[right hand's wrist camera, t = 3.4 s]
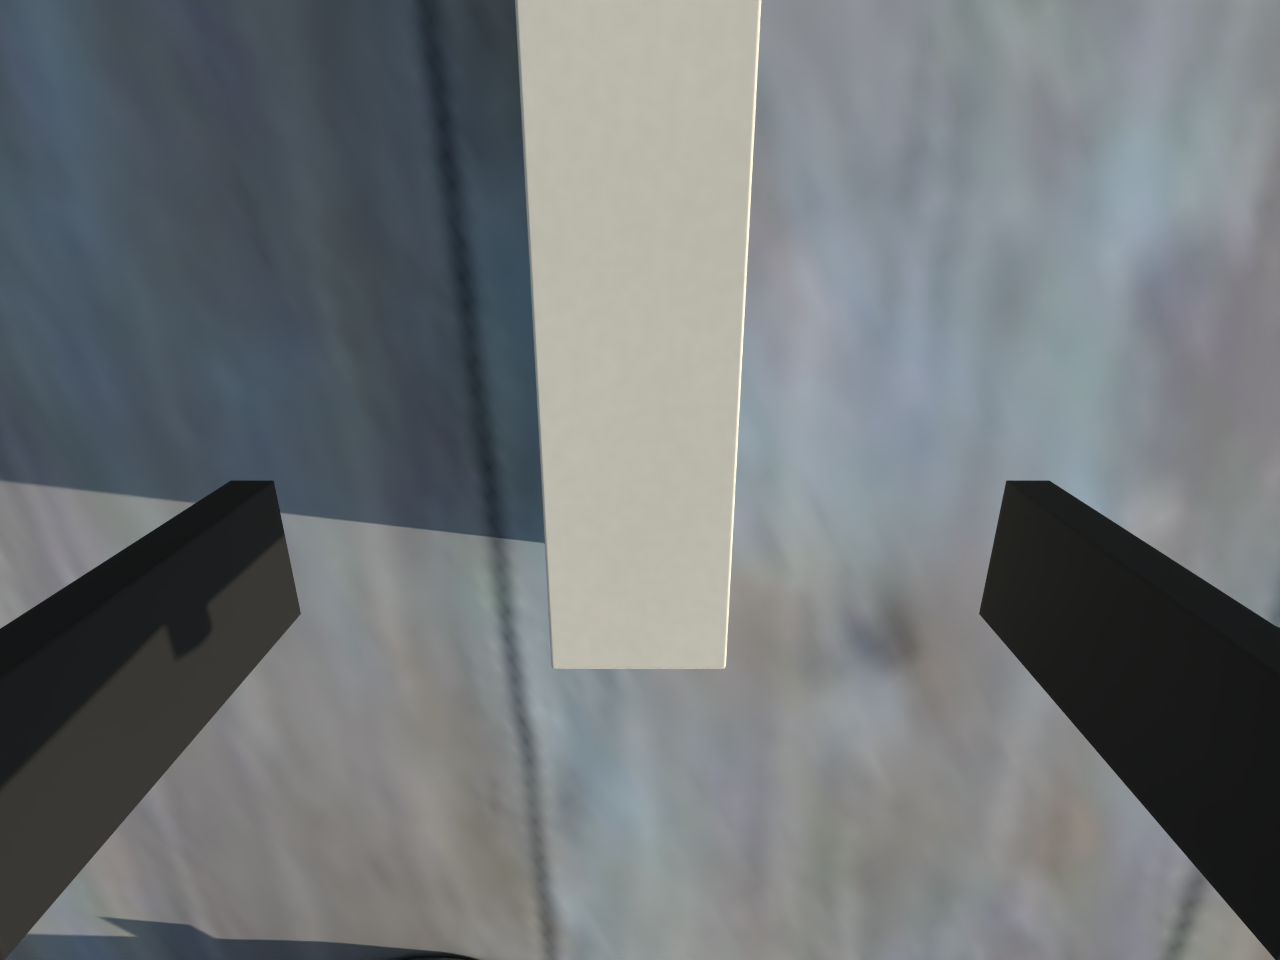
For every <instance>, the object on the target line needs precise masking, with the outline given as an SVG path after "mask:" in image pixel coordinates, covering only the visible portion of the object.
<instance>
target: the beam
mask: <svg viewBox="0 0 1280 960" xmlns="http://www.w3.org/2000/svg"><path fill="white" fill-rule="evenodd" d="M515 10H516V28H517V46H518V64H519V83H520V101H521V119H522V137H523V155H524V174H525V192H526V210H527V228H528V246H529V265H530V283H531V301H532V319H533V337H534V356H535V374H536V392H537V410H538V428H539V447H540V465H541V483H542V501H543V519H544V538H545V556H546V574H547V592H548V610H549V629H550V647H551V665H552V668H554V669H724V668H725V666H726V652H727V633H728V614H729V595H730V577H731V558H732V539H733V520H734V502H735V483H736V464H737V445H738V427H739V408H740V389H741V370H742V351H743V333H744V314H745V295H746V276H747V258H748V239H749V220H750V201H751V183H752V164H753V145H754V126H755V107H756V89H757V70H758V51H759V32H760V14H761V0H515Z"/></svg>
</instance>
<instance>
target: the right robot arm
mask: <svg viewBox="0 0 1280 960" xmlns="http://www.w3.org/2000/svg"><path fill="white" fill-rule="evenodd" d="M300 614H301V613H300V608H299V603H298V598H297V593H296V588H295V583H294V578H293V573H292V569H291V564H290V559H289V554H288V549H287V544H286V539H285V534H284V529H283V524H282V520H281V515H280V510H279V505H278V500H277V495H276V490H275V485H274V481H230V482H228V483H226V484H225V485H223V486H222V487H220V488H219V489H217V490H216V491H214V492H212V493H211V494H209V495H208V496H206V497H205V498H203V499H202V500H200V501H198V502H197V503H195V504H194V505H192V506H191V507H189V508H188V509H186V510H184V511H183V512H181V513H180V514H178V515H177V516H175V517H174V518H172V519H170V520H169V521H167V522H166V523H164V524H163V525H161V526H160V527H158V528H156V529H155V530H153V531H152V532H150V533H149V534H147V535H146V536H144V537H142V538H141V539H139V540H138V541H136V542H135V543H133V544H132V545H130V546H128V547H127V548H125V549H124V550H122V551H121V552H119V553H118V554H116V555H114V556H113V557H111V558H110V559H108V560H107V561H105V562H104V563H102V564H100V565H99V566H97V567H96V568H94V569H93V570H91V571H90V572H88V573H86V574H85V575H83V576H82V577H80V578H79V579H77V580H76V581H74V582H72V583H71V584H69V585H68V586H66V587H65V588H63V589H62V590H60V591H58V592H57V593H55V594H54V595H52V596H51V597H49V598H48V599H46V600H44V601H43V602H41V603H40V604H38V605H37V606H35V607H34V608H32V609H30V610H29V611H27V612H26V613H24V614H23V615H21V616H20V617H18V618H16V619H15V620H13V621H12V622H10V623H9V624H7V625H6V626H4V627H2V628H1V629H0V960H5V959H6V957H7V956H8V955H9V954H10V953H11V952H12V950H13V949H14V948H15V947H16V946H17V945H18V943H19V942H20V941H21V940H22V939H23V938H24V936H25V935H26V934H27V933H28V932H29V931H30V929H31V928H32V927H33V926H34V925H35V924H36V922H37V921H38V920H39V919H40V918H41V917H42V915H43V914H44V913H45V912H46V911H47V909H48V908H49V907H50V906H51V905H52V904H53V902H54V901H55V900H56V899H57V898H58V897H59V895H60V894H61V893H62V892H63V891H64V890H65V888H66V887H67V886H68V885H69V884H70V883H71V881H72V880H73V879H74V878H75V877H76V876H77V874H78V873H79V872H80V871H81V870H82V869H83V867H84V866H85V865H86V864H87V863H88V862H89V860H90V859H91V858H92V857H93V856H94V855H95V853H96V852H97V851H98V850H99V849H100V848H101V846H102V845H103V844H104V843H105V842H106V841H107V839H108V838H109V837H110V836H111V835H112V834H113V832H114V831H115V830H116V829H117V828H118V827H119V825H120V824H121V823H122V822H123V821H124V820H125V818H126V817H127V816H128V815H129V814H130V813H131V811H132V810H133V809H134V808H135V807H136V806H137V804H138V803H139V802H140V801H141V800H142V799H143V797H144V796H145V795H146V794H147V793H148V792H149V790H150V789H151V788H152V787H153V786H154V785H155V783H156V782H157V781H158V780H159V779H160V778H161V776H162V775H163V774H164V773H165V772H166V771H167V769H168V768H169V767H170V766H171V765H172V764H173V762H174V761H175V760H176V759H177V758H178V757H179V755H180V754H181V753H182V752H183V751H184V750H185V748H186V747H187V746H188V745H189V744H190V743H191V741H192V740H193V739H194V738H195V737H196V735H197V734H198V733H199V732H200V731H201V730H202V728H203V727H204V726H205V725H206V724H207V723H208V721H209V720H210V719H211V718H212V717H213V716H214V714H215V713H216V712H217V711H218V710H219V709H220V707H221V706H222V705H223V704H224V703H225V702H226V700H227V699H228V698H229V697H230V696H231V695H232V693H233V692H234V691H235V690H236V689H237V688H238V686H239V685H240V684H241V683H242V682H243V681H244V679H245V678H246V677H247V676H248V675H249V674H250V672H251V671H252V670H253V669H254V668H255V667H256V665H257V664H258V663H259V662H260V661H261V660H262V658H263V657H264V656H265V655H266V654H267V653H268V651H269V650H270V649H271V648H272V647H273V646H274V644H275V643H276V642H277V641H278V640H279V639H280V637H281V636H282V635H283V634H284V633H285V632H286V630H287V629H288V628H289V627H290V626H291V625H292V623H293V622H294V621H295V620H296V619H297V618H298V616H299V615H300ZM979 614H980V615H981V616H982V618H983V619H984V620H985V621H986V622H987V623H988V625H989V626H990V627H991V628H992V629H993V630H994V632H995V633H996V634H997V635H998V636H999V637H1000V639H1001V640H1002V641H1003V642H1004V643H1005V644H1006V646H1007V647H1008V648H1009V649H1010V650H1011V651H1012V653H1013V654H1014V655H1015V656H1016V657H1017V658H1018V660H1019V661H1020V662H1021V663H1022V664H1023V665H1024V667H1025V668H1026V669H1027V670H1028V671H1029V672H1030V674H1031V675H1032V676H1033V677H1034V678H1035V679H1036V681H1037V682H1038V683H1039V684H1040V685H1041V686H1042V688H1043V689H1044V690H1045V691H1046V692H1047V693H1048V695H1049V696H1050V697H1051V698H1052V699H1053V700H1054V702H1055V703H1056V704H1057V705H1058V706H1059V707H1060V709H1061V710H1062V711H1063V712H1064V713H1065V714H1066V716H1067V717H1068V718H1069V719H1070V720H1071V721H1072V723H1073V724H1074V725H1075V726H1076V727H1077V728H1078V730H1079V731H1080V732H1081V733H1082V734H1083V735H1084V737H1085V738H1086V739H1087V740H1088V741H1089V743H1090V744H1091V745H1092V746H1093V747H1094V748H1095V750H1096V751H1097V752H1098V753H1099V754H1100V755H1101V757H1102V758H1103V759H1104V760H1105V761H1106V762H1107V764H1108V765H1109V766H1110V767H1111V768H1112V769H1113V771H1114V772H1115V773H1116V774H1117V775H1118V776H1119V778H1120V779H1121V780H1122V781H1123V782H1124V783H1125V785H1126V786H1127V787H1128V788H1129V789H1130V790H1131V792H1132V793H1133V794H1134V795H1135V796H1136V797H1137V799H1138V800H1139V801H1140V802H1141V803H1142V804H1143V806H1144V807H1145V808H1146V809H1147V810H1148V811H1149V813H1150V814H1151V815H1152V816H1153V817H1154V818H1155V820H1156V821H1157V822H1158V823H1159V824H1160V825H1161V827H1162V828H1163V829H1164V830H1165V831H1166V832H1167V834H1168V835H1169V836H1170V837H1171V838H1172V839H1173V841H1174V842H1175V843H1176V844H1177V845H1178V846H1179V848H1180V849H1181V850H1182V851H1183V852H1184V853H1185V855H1186V856H1187V857H1188V858H1189V859H1190V860H1191V862H1192V863H1193V864H1194V865H1195V866H1196V867H1197V869H1198V870H1199V871H1200V872H1201V873H1202V874H1203V876H1204V877H1205V878H1206V879H1207V880H1208V881H1209V883H1210V884H1211V885H1212V886H1213V887H1214V888H1215V890H1216V891H1217V892H1218V893H1219V894H1220V895H1221V897H1222V898H1223V899H1224V900H1225V901H1226V902H1227V904H1228V905H1229V906H1230V907H1231V908H1232V909H1233V911H1234V912H1235V913H1236V914H1237V915H1238V917H1239V918H1240V919H1241V920H1242V921H1243V922H1244V924H1245V925H1246V926H1247V927H1248V928H1249V929H1250V931H1251V932H1252V933H1253V934H1254V935H1255V936H1256V938H1257V939H1258V940H1259V941H1260V942H1261V943H1262V945H1263V946H1264V947H1265V948H1266V949H1267V950H1268V952H1269V953H1270V954H1271V955H1272V956H1273V957H1274V959H1275V960H1280V628H1279V627H1277V626H1274V625H1273V624H1271V623H1270V622H1268V621H1267V620H1265V619H1264V618H1262V617H1260V616H1259V615H1257V614H1256V613H1254V612H1253V611H1251V610H1250V609H1248V608H1246V607H1245V606H1243V605H1242V604H1240V603H1239V602H1237V601H1236V600H1234V599H1232V598H1231V597H1229V596H1228V595H1226V594H1225V593H1223V592H1222V591H1220V590H1218V589H1217V588H1215V587H1214V586H1212V585H1211V584H1209V583H1208V582H1206V581H1204V580H1203V579H1201V578H1200V577H1198V576H1197V575H1195V574H1194V573H1192V572H1190V571H1189V570H1187V569H1186V568H1184V567H1183V566H1181V565H1180V564H1178V563H1176V562H1175V561H1173V560H1172V559H1170V558H1169V557H1167V556H1166V555H1164V554H1162V553H1161V552H1159V551H1158V550H1156V549H1155V548H1153V547H1152V546H1150V545H1148V544H1147V543H1145V542H1144V541H1142V540H1141V539H1139V538H1138V537H1136V536H1134V535H1133V534H1131V533H1130V532H1128V531H1127V530H1125V529H1124V528H1122V527H1120V526H1119V525H1117V524H1116V523H1114V522H1113V521H1111V520H1110V519H1108V518H1106V517H1105V516H1103V515H1102V514H1100V513H1099V512H1097V511H1096V510H1094V509H1092V508H1091V507H1089V506H1088V505H1086V504H1085V503H1083V502H1082V501H1080V500H1078V499H1077V498H1075V497H1074V496H1072V495H1071V494H1069V493H1068V492H1066V491H1064V490H1063V489H1061V488H1060V487H1058V486H1057V485H1055V484H1054V483H1052V482H1050V481H1006V485H1005V490H1004V495H1003V500H1002V505H1001V510H1000V515H999V520H998V524H997V529H996V534H995V539H994V544H993V549H992V554H991V559H990V564H989V569H988V573H987V578H986V583H985V588H984V593H983V598H982V603H981V608H980V613H979ZM409 960H463V959H453V958H417V959H409Z"/></svg>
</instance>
